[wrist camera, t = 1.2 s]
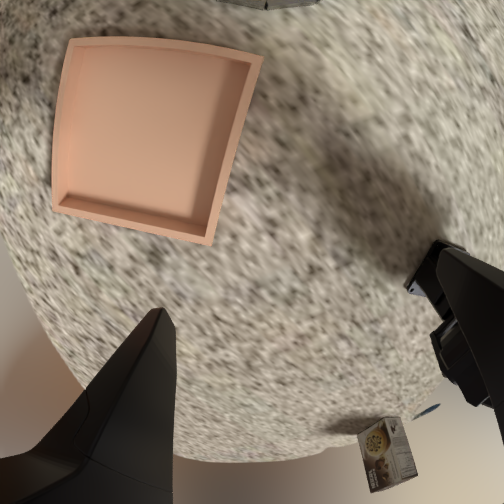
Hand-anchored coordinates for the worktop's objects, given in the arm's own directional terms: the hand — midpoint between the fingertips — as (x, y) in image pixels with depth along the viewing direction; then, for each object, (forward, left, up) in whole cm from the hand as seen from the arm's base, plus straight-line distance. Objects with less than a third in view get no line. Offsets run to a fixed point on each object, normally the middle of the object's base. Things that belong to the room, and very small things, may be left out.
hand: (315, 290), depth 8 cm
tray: (+9, -1, -13) cm, 16 cm away
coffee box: (-41, +44, -14) cm, 62 cm away
